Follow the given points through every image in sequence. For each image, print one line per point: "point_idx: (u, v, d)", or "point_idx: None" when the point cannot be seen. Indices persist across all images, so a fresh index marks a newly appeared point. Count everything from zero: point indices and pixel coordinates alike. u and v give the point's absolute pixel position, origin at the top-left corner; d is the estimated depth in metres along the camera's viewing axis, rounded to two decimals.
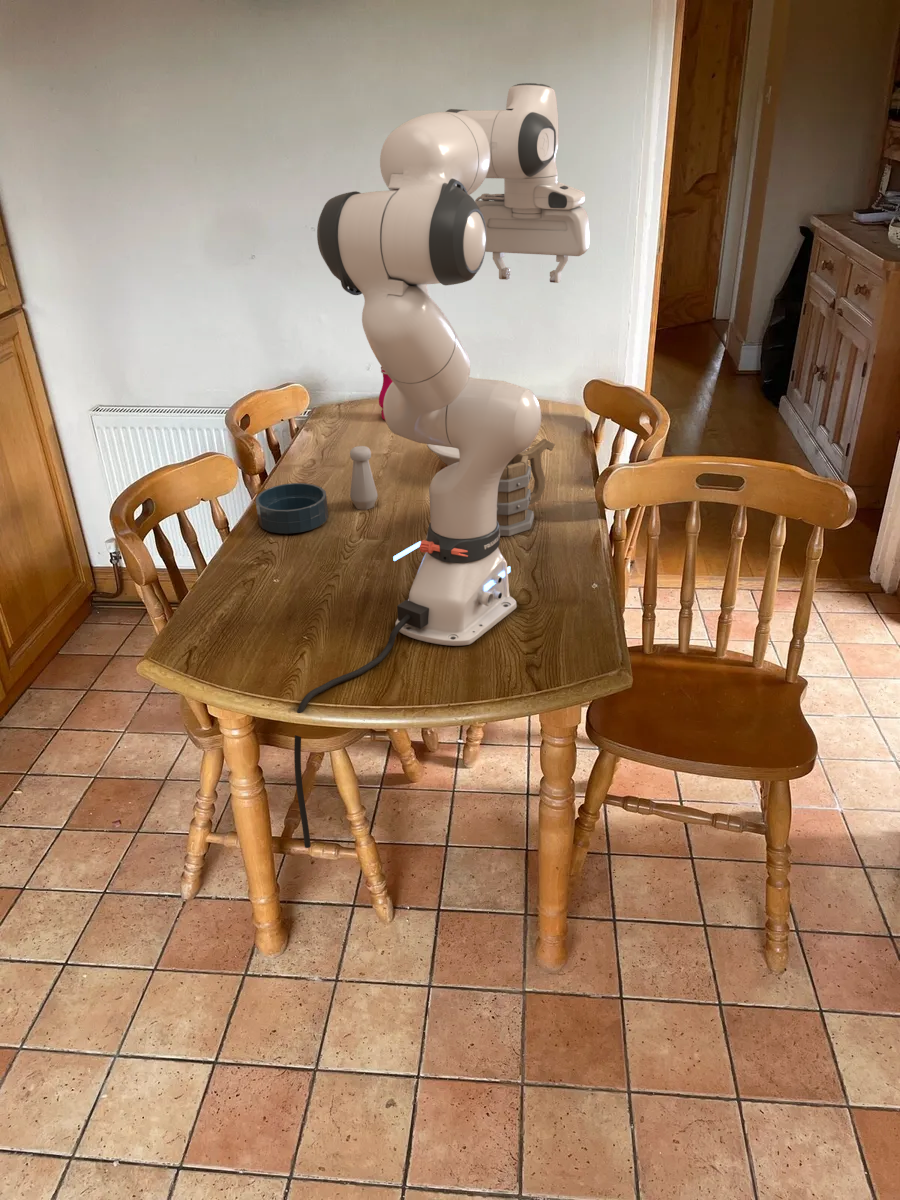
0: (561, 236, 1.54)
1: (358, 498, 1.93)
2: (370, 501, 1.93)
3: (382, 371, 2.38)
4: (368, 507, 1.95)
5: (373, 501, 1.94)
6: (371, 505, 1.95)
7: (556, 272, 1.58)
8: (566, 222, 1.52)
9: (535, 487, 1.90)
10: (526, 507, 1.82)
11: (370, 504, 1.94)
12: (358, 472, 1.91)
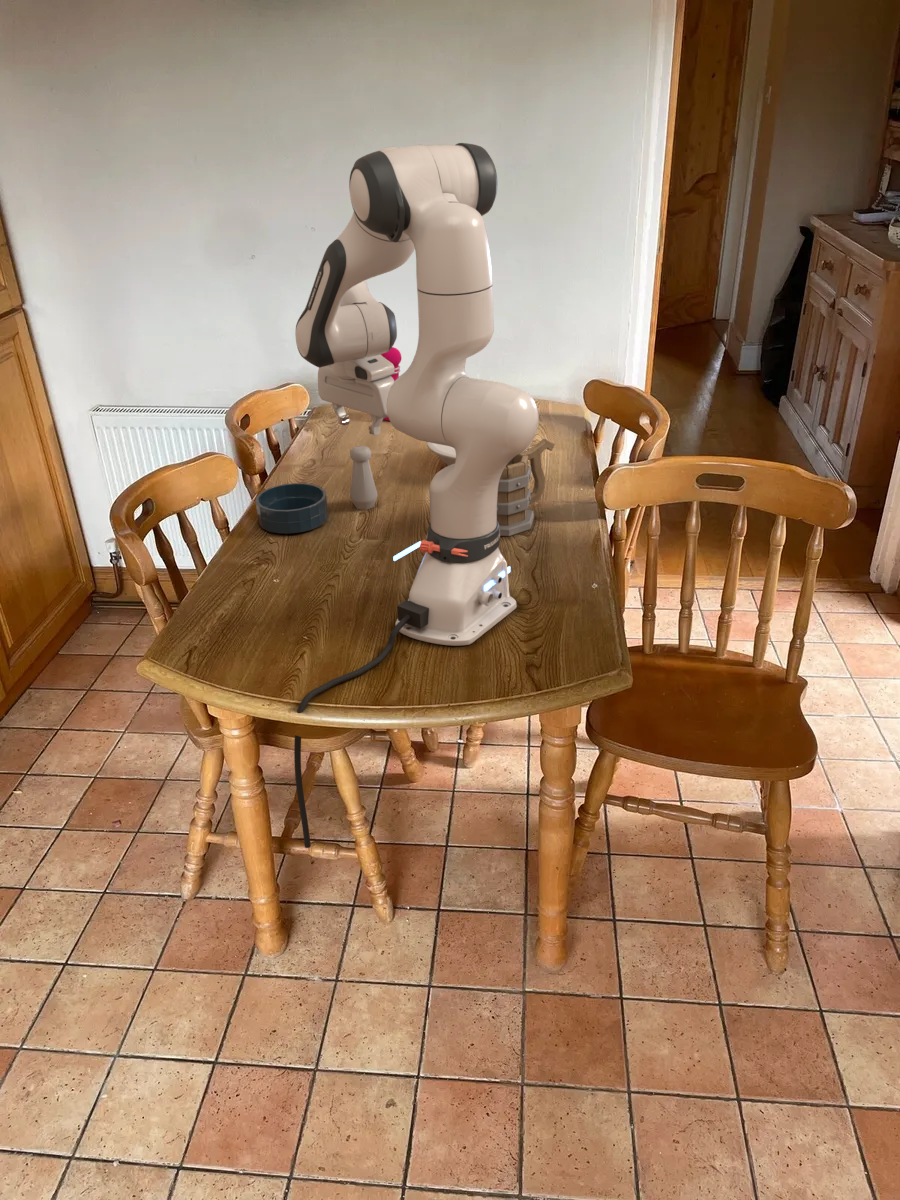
0: (370, 400, 1.79)
1: (358, 498, 1.93)
2: (370, 501, 1.93)
3: None
4: (368, 507, 1.95)
5: (373, 501, 1.94)
6: (371, 505, 1.95)
7: (372, 427, 1.84)
8: (372, 390, 1.78)
9: (535, 487, 1.90)
10: (526, 507, 1.82)
11: (370, 504, 1.94)
12: (358, 472, 1.91)
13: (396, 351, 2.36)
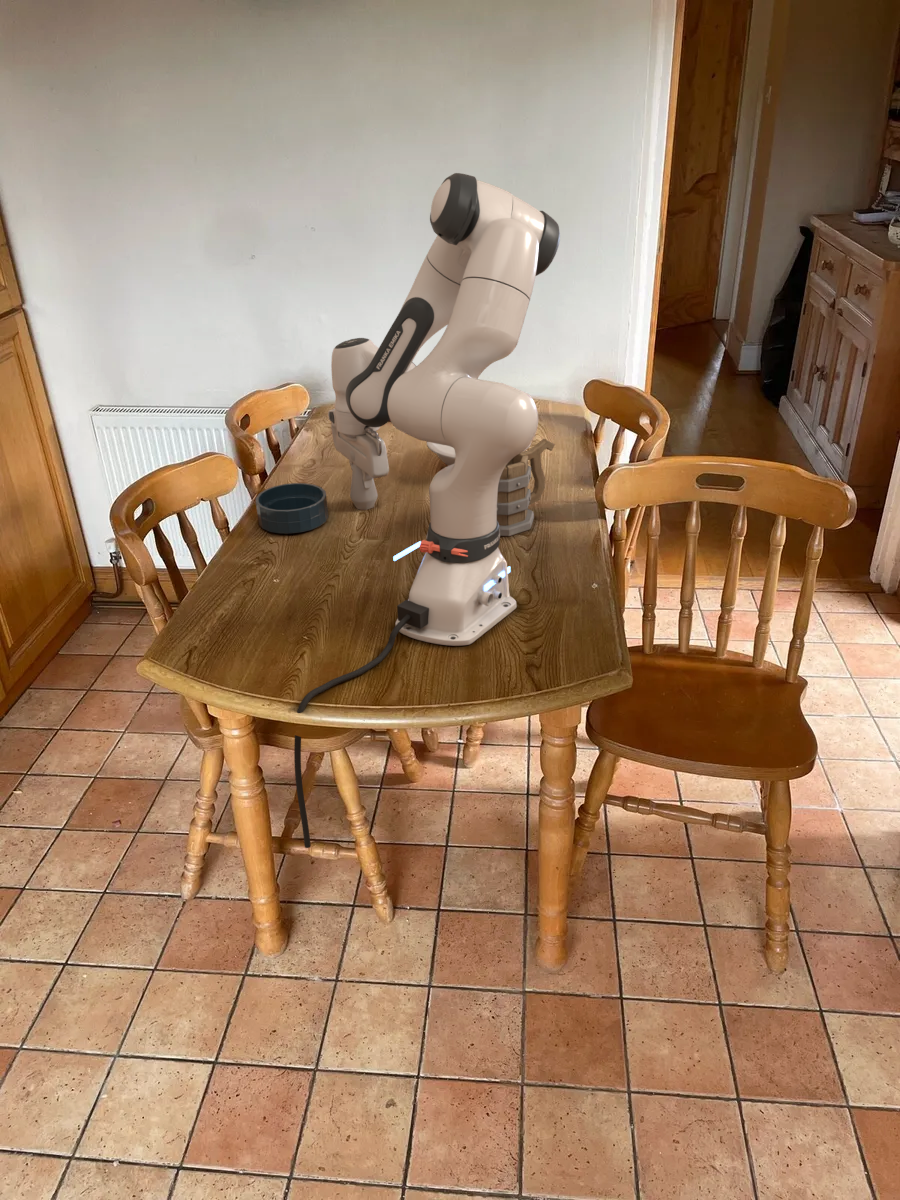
0: None
1: (358, 498, 1.93)
2: (370, 501, 1.93)
3: None
4: (368, 507, 1.95)
5: (373, 501, 1.94)
6: (371, 505, 1.95)
7: None
8: None
9: (535, 487, 1.90)
10: (526, 507, 1.82)
11: (370, 504, 1.94)
12: (358, 472, 1.91)
13: None
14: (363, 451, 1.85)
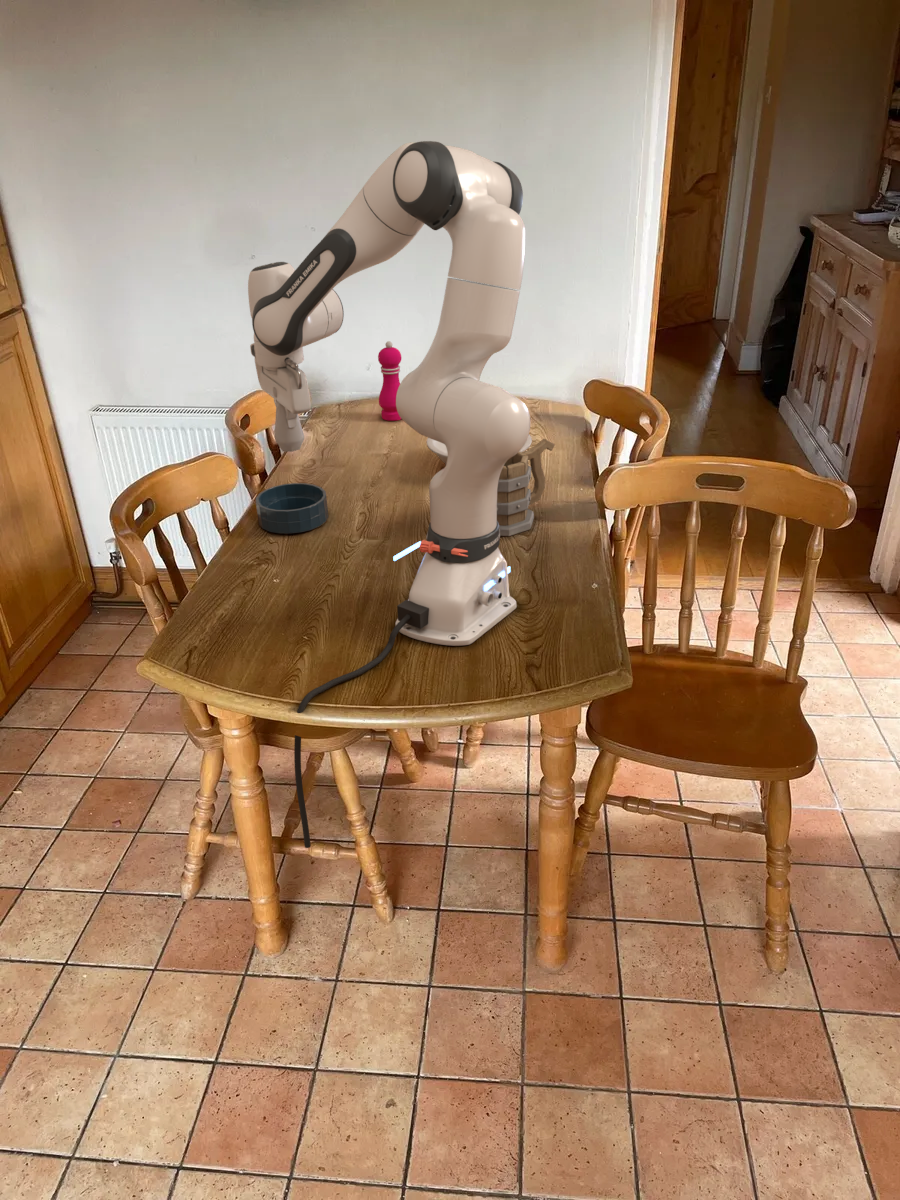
0: None
1: (282, 438, 1.80)
2: (295, 442, 1.81)
3: (382, 371, 2.38)
4: (293, 449, 1.82)
5: (299, 442, 1.81)
6: (297, 447, 1.82)
7: None
8: None
9: (535, 487, 1.90)
10: (526, 507, 1.82)
11: (296, 445, 1.81)
12: (281, 410, 1.78)
13: (396, 351, 2.36)
14: (284, 385, 1.72)
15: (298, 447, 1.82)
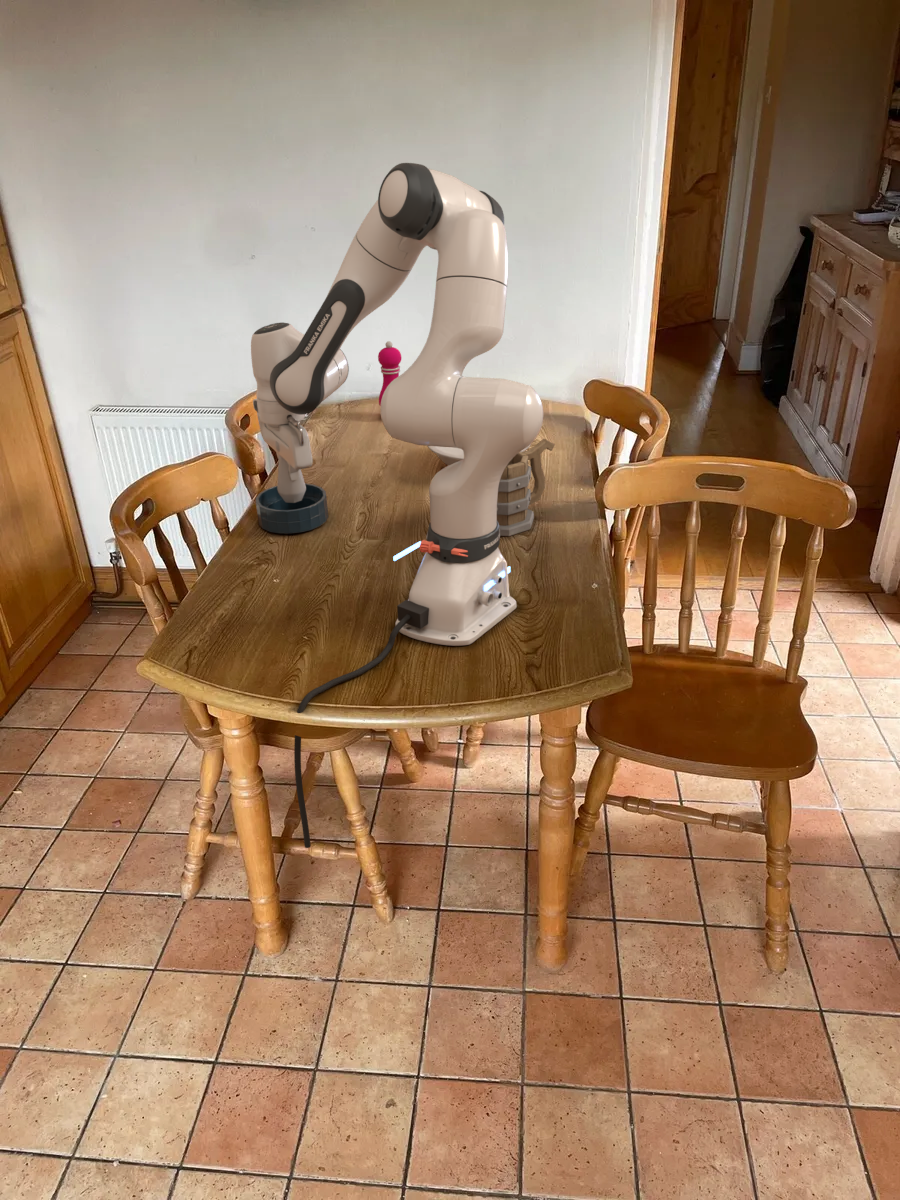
0: None
1: (285, 490, 1.85)
2: (297, 494, 1.86)
3: (382, 371, 2.38)
4: (296, 500, 1.87)
5: (301, 494, 1.86)
6: (299, 498, 1.87)
7: None
8: None
9: (535, 487, 1.90)
10: (526, 507, 1.82)
11: (298, 497, 1.86)
12: (283, 463, 1.83)
13: (396, 351, 2.36)
14: (286, 441, 1.77)
15: (300, 498, 1.87)
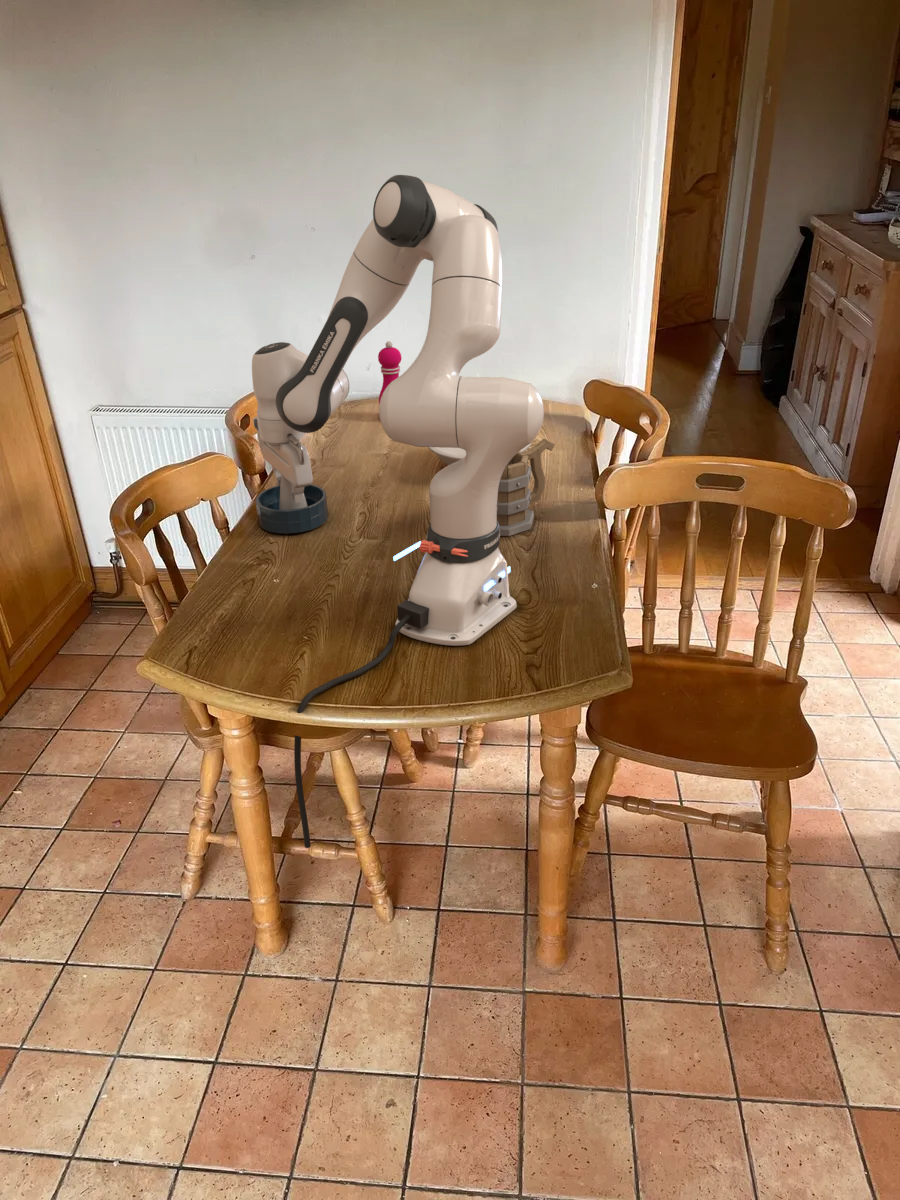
0: None
1: None
2: None
3: (382, 371, 2.38)
4: None
5: None
6: None
7: None
8: None
9: (535, 487, 1.90)
10: (526, 507, 1.82)
11: None
12: (285, 483, 1.85)
13: (396, 351, 2.36)
14: (286, 460, 1.78)
15: None
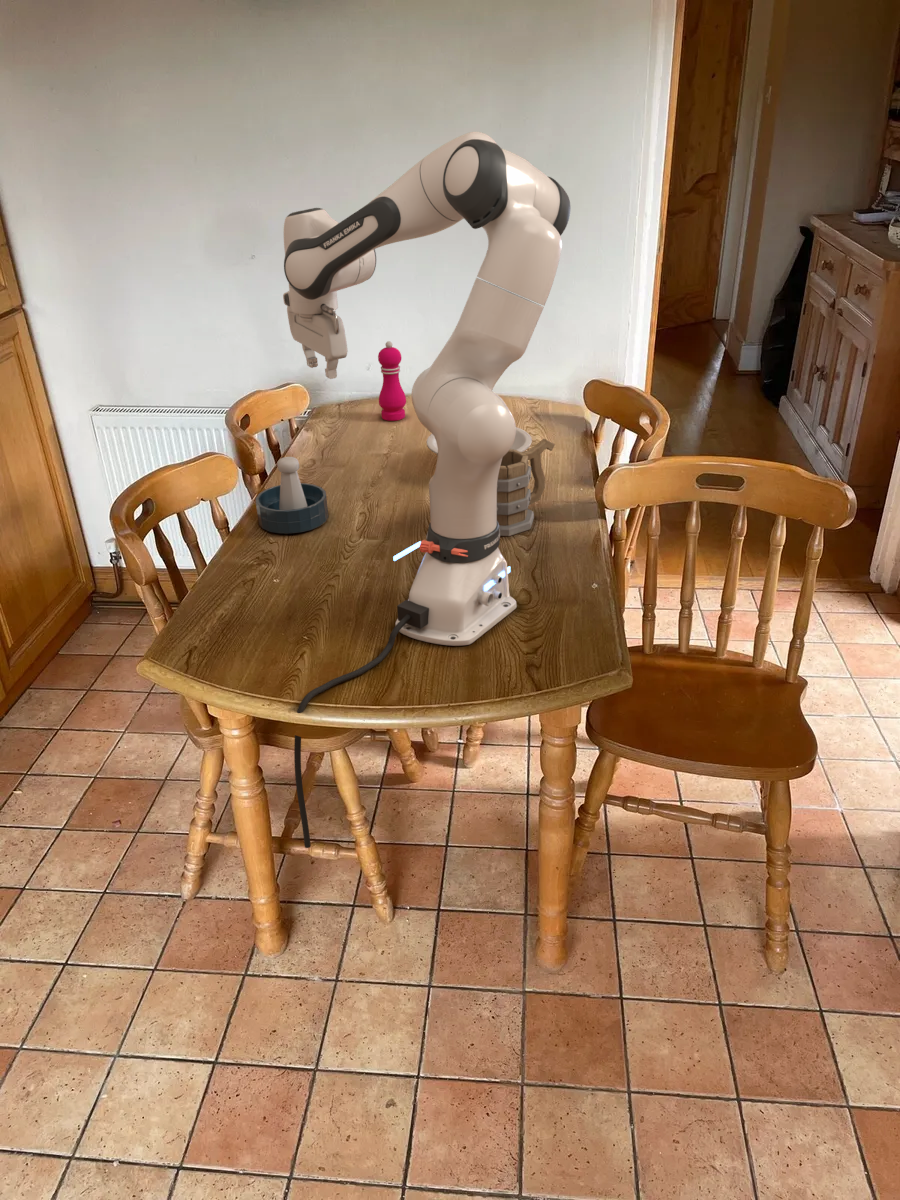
0: None
1: None
2: None
3: (382, 371, 2.38)
4: None
5: None
6: None
7: None
8: None
9: (535, 487, 1.90)
10: (526, 507, 1.82)
11: None
12: (285, 483, 1.85)
13: (396, 351, 2.36)
14: (320, 332, 1.73)
15: None
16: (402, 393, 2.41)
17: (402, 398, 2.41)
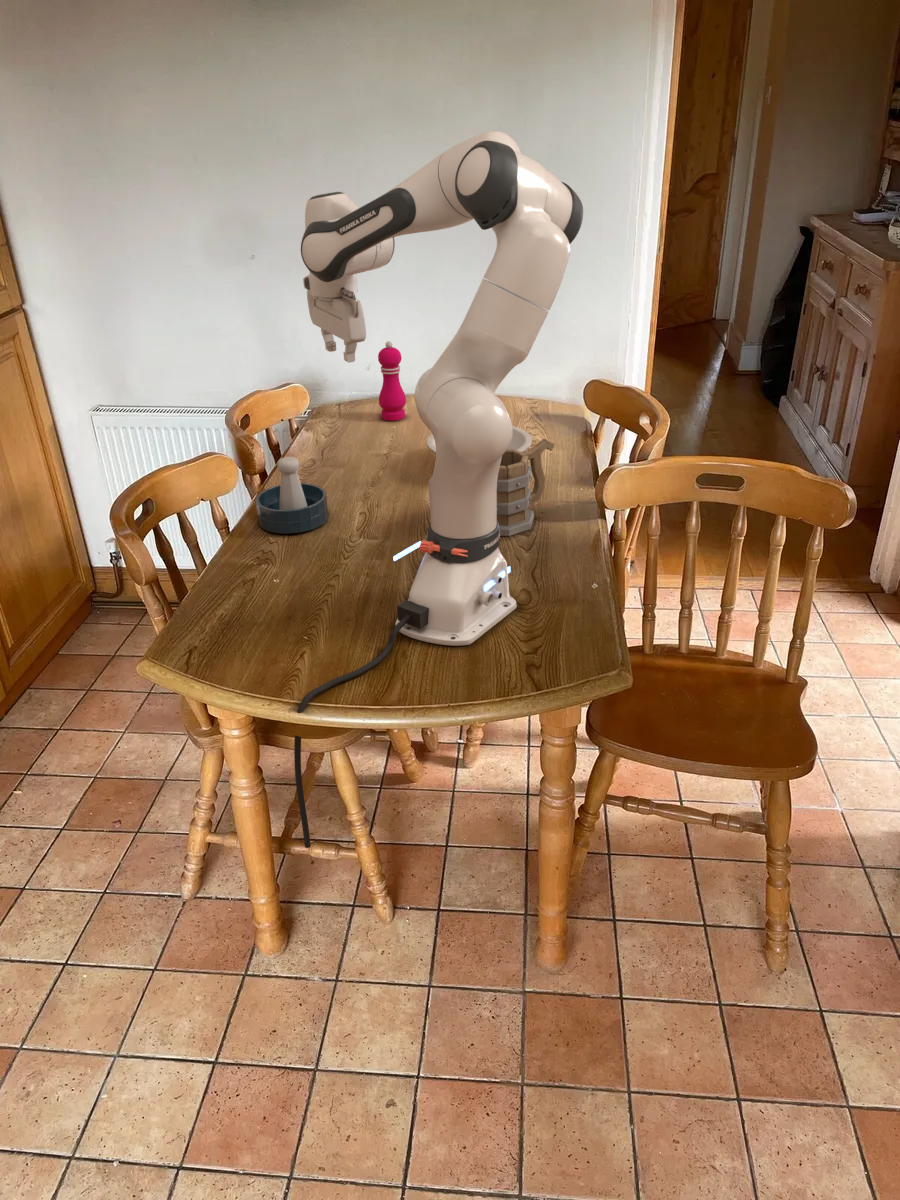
0: None
1: None
2: None
3: (382, 371, 2.38)
4: None
5: None
6: None
7: (333, 340, 1.88)
8: None
9: (535, 487, 1.90)
10: (526, 507, 1.82)
11: None
12: (285, 483, 1.85)
13: (396, 351, 2.36)
14: (339, 315, 1.75)
15: None
16: (402, 393, 2.41)
17: (402, 398, 2.41)
